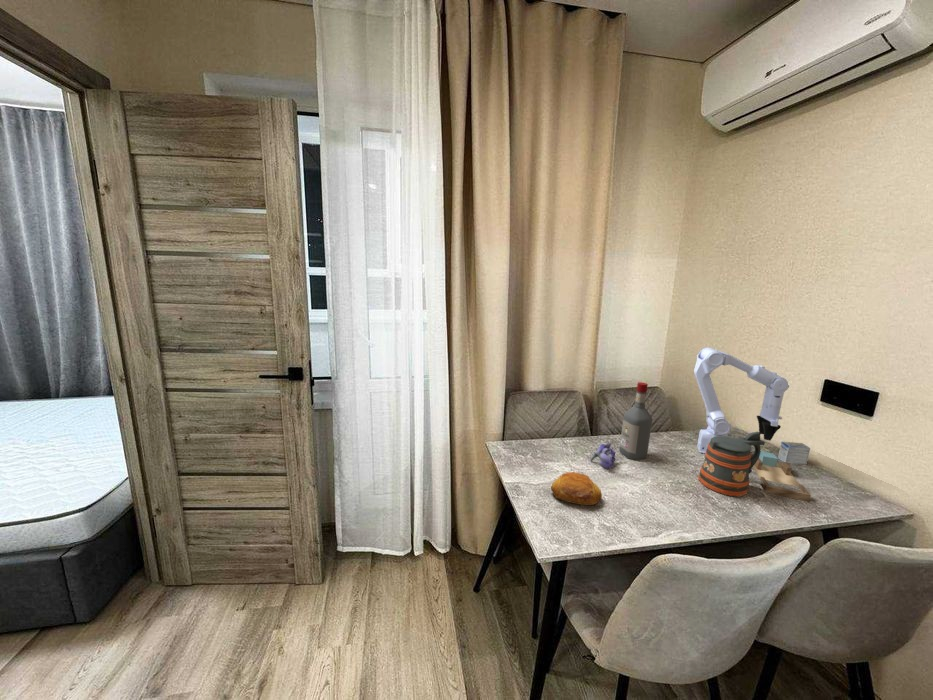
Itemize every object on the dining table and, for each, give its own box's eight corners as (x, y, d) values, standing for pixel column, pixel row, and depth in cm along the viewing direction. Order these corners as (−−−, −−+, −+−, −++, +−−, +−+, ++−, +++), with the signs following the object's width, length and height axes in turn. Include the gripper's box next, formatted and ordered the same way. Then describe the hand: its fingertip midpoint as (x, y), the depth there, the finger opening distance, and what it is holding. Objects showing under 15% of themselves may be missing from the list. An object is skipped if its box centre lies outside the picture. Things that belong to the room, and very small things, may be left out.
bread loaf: (597, 518, 118) (604, 496, 116) (547, 500, 123) (552, 479, 120) (599, 493, 131) (605, 472, 129) (553, 477, 136) (559, 457, 134)
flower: (585, 449, 144) (611, 441, 142) (586, 449, 152) (611, 441, 150) (594, 474, 141) (622, 466, 139) (595, 472, 149) (621, 465, 147)
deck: (765, 492, 132) (767, 480, 131) (745, 459, 155) (747, 449, 154) (809, 501, 127) (812, 489, 126) (782, 466, 151) (784, 456, 150)
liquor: (630, 461, 150) (640, 387, 144) (616, 450, 159) (625, 380, 153) (650, 459, 153) (660, 386, 146) (635, 448, 161) (644, 380, 155)
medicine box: (797, 462, 155) (802, 442, 153) (806, 468, 150) (810, 447, 148) (776, 461, 155) (781, 441, 154) (784, 466, 151) (789, 446, 149)
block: (761, 464, 149) (763, 456, 148) (757, 458, 153) (759, 450, 152) (775, 467, 147) (777, 458, 146) (771, 461, 151) (773, 453, 151)
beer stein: (732, 472, 145) (741, 422, 141) (769, 494, 131) (781, 439, 127) (688, 475, 141) (697, 424, 137) (722, 498, 127) (733, 442, 123)
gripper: (790, 412, 144) (783, 446, 147) (777, 401, 157) (771, 432, 160) (767, 409, 147) (761, 442, 150) (757, 398, 160) (750, 428, 163)
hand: (764, 436), depth 155 cm, fingers open, 6 cm apart
